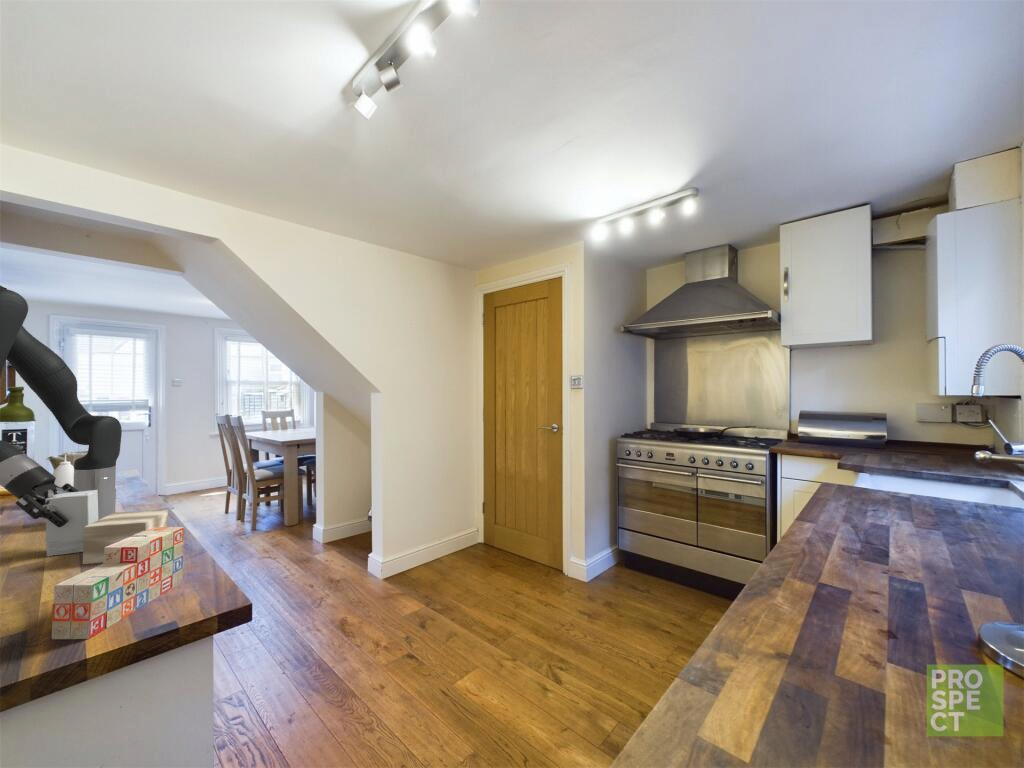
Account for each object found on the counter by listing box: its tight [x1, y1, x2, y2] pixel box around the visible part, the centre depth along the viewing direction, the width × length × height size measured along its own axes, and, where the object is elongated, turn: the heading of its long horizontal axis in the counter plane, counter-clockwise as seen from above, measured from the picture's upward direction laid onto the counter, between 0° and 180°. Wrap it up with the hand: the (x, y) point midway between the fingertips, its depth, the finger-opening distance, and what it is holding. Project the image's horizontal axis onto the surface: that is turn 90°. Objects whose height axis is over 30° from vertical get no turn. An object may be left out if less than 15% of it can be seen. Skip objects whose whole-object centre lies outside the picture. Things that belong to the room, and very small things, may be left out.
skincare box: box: [45, 490, 98, 557], centre depth 107 cm, size 8×6×15 cm
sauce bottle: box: [51, 454, 74, 487], centre depth 146 cm, size 8×8×18 cm
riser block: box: [82, 508, 169, 565], centre depth 107 cm, size 12×12×9 cm
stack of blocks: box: [51, 526, 185, 640], centre depth 80 cm, size 21×6×12 cm, turn 3°
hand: (77, 519), depth 107 cm, fingers open, 8 cm apart
